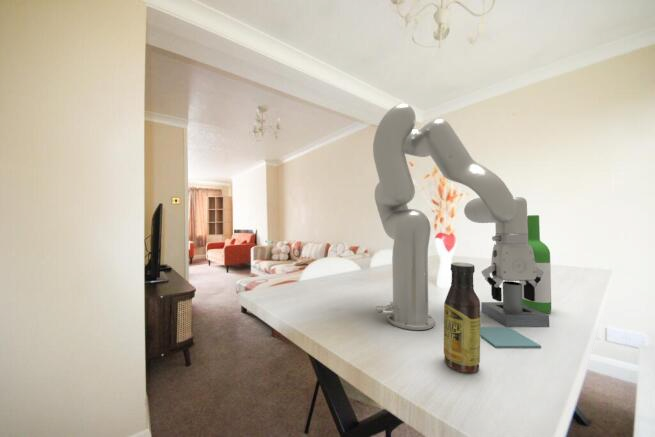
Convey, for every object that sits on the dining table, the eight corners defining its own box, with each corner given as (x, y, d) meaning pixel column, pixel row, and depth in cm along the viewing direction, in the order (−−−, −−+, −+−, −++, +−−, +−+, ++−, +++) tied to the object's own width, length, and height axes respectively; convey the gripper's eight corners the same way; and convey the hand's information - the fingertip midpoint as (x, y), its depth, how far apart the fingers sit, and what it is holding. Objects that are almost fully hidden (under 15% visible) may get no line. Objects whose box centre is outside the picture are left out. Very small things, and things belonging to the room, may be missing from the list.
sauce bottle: (437, 357, 52) (436, 261, 52) (466, 356, 52) (465, 260, 53) (456, 377, 45) (455, 266, 45) (489, 375, 46) (487, 265, 46)
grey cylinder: (526, 322, 70) (525, 285, 70) (507, 321, 70) (507, 284, 71) (517, 316, 74) (516, 281, 74) (500, 315, 75) (499, 280, 75)
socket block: (506, 326, 67) (506, 315, 67) (481, 311, 78) (481, 302, 78) (549, 326, 67) (549, 315, 67) (517, 311, 78) (517, 302, 78)
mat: (495, 348, 55) (495, 345, 55) (470, 328, 65) (470, 327, 65) (541, 348, 55) (541, 345, 55) (509, 329, 65) (509, 327, 65)
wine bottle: (526, 313, 76) (524, 215, 77) (515, 305, 84) (513, 215, 84) (557, 315, 74) (555, 214, 75) (542, 307, 82) (541, 215, 82)
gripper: (489, 241, 69) (491, 304, 69) (553, 240, 69) (555, 303, 69) (473, 239, 77) (475, 296, 76) (531, 238, 76) (532, 295, 76)
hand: (513, 299), depth 72 cm, fingers open, 8 cm apart
